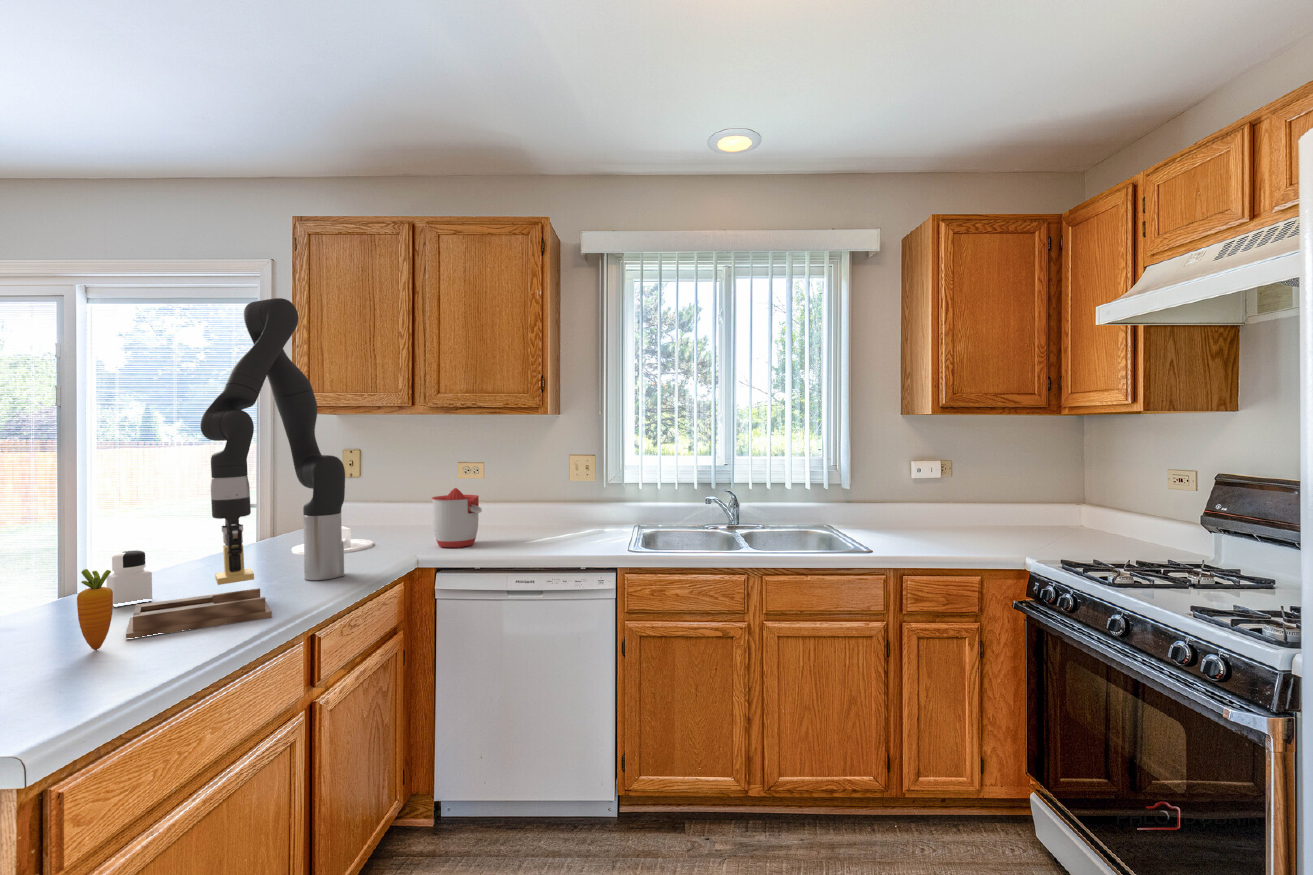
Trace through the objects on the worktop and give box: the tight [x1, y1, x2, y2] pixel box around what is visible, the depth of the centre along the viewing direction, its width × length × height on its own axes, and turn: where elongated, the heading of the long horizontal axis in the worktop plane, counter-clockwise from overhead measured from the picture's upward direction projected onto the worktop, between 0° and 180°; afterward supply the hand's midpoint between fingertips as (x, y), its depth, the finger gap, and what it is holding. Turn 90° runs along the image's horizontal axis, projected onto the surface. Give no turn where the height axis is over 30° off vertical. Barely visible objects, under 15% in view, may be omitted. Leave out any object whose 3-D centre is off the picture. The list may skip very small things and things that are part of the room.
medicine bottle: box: [105, 549, 153, 604], centre depth 151 cm, size 7×7×12 cm
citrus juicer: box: [431, 487, 482, 549], centre depth 222 cm, size 16×17×20 cm
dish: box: [291, 525, 374, 556], centre depth 220 cm, size 25×25×11 cm
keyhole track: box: [125, 587, 273, 639], centre depth 135 cm, size 24×14×4 cm, turn 127°
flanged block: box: [214, 543, 255, 586], centre depth 150 cm, size 7×7×8 cm
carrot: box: [76, 568, 114, 651], centre depth 117 cm, size 5×5×15 cm
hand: (234, 569), depth 150 cm, fingers closed on flanged block, 3 cm apart
